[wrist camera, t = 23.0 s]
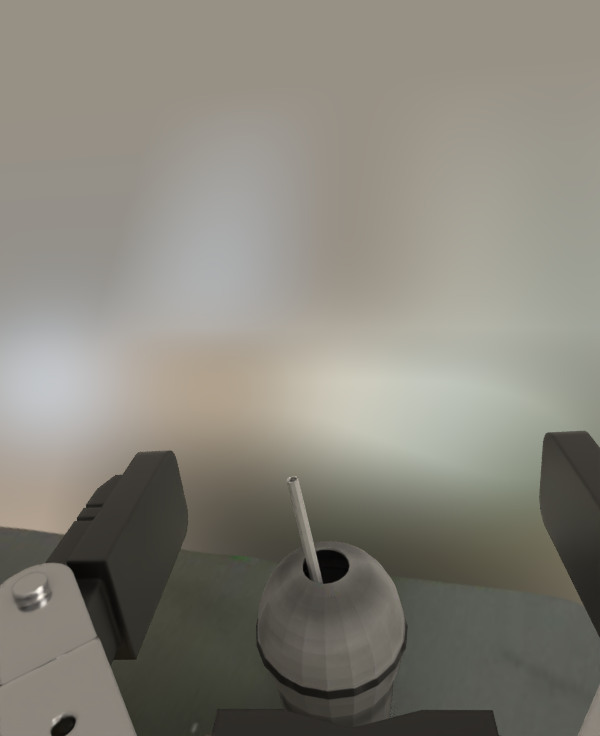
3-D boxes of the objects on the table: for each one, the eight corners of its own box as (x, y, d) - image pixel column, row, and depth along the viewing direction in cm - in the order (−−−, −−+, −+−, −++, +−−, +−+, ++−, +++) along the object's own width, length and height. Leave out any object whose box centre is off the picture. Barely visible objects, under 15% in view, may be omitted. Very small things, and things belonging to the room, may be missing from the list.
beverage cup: (388, 864, 28) (381, 569, 19) (257, 806, 31) (197, 524, 22) (419, 724, 34) (425, 448, 25) (307, 685, 37) (275, 425, 28)
